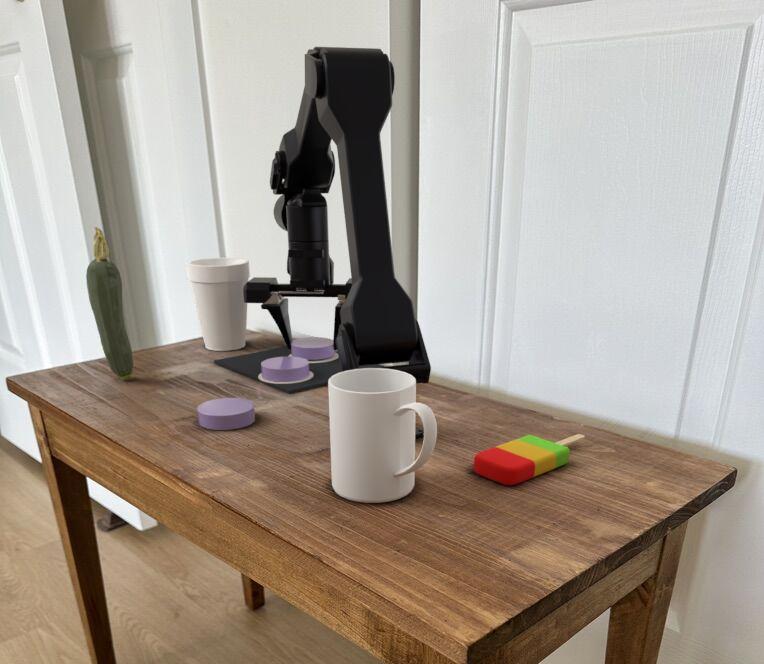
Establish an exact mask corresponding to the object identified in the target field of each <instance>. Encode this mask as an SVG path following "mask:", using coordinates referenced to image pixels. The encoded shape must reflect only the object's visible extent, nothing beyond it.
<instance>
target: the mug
mask: <svg viewBox="0 0 764 664" xmlns="http://www.w3.org/2000/svg"><path fill="white" fill-rule="evenodd" d="M327 386H328V413H329V414H328V416H329V441H330V443H329V444H330V467H331V468H330V469H331V472H330V473H331V487H332V488H333V490H334V492H335V494H337V495H338V496H340V497H341V498H344V499H345V500H349V501H353V502H357V503H365V504H380V503H387V502H392V501H397V500H399V499H401V498H404V497H406V496H408V495H409V494H410V493H412V491H413V489H414V488H415V477H416V476H415V475H416V473H415V472H416V471H418V470H419V469H421V468H422V467H423V466H424V465H426V464H427V462H428V461H429V459H430V458H431V457H432V455H433V453H434V450H435V447H436V442H437V437H438V425H437V419H436V416H435V413H434V412H433V410H432V409H431V407H429V406H428V405H427V404H425V403H422V402H417V383H416V379H415V378H414V377H413V376H412V375H410V374H408V373H406V372H402V371H398V370H393V369H383V368H363V369H354V370H348V371H344V372H340V373H337V374H335V375H333V376H332V377H331V378H330V379H329V381H328V384H327ZM416 413H417V414H418V416H419V417H420V420H421V421H422V422H421V423H422V426H423V430H424V436H423V442H422V447H421V449H420V453H419V455H418V457H417V458H416V438H415V427H416V417H417V415H416Z"/></svg>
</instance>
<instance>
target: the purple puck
mask: <svg viewBox="0 0 764 664" xmlns="http://www.w3.org/2000/svg"><path fill="white" fill-rule="evenodd" d="M335 351H336V350H334V343H333V339H332V338H328V337H319V336H310V337H301V338H297V339H294V340H292V342H291V355H292V356H293V357H300V358H304V359H307V360H319V359H326V358H330V357H332V356H334V355H335Z"/></svg>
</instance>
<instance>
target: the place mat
mask: <svg viewBox="0 0 764 664" xmlns="http://www.w3.org/2000/svg"><path fill="white" fill-rule="evenodd" d="M275 357H293V356H292V355H291V350H289V349H288V347H287V345H286V346H280V347H275V348H271V349H265V350H261V351H255V352H251V353H250V352H249V353H245V354H240V355H235V356H230V357H224V358H220V359H215V360H213V363H214V364H216V365H218V366H221V367H223V368H226V369H227V370H230V371H233V372H235V373H238V374H240V375H242V376H245V377H247V378H250V379H252V380H255V381H257V382H259V383H261V384H265V385H267V386H270V387H272V388H275V389H277V390H280V391H281V392H285V393H287V394H294V393H298V392H301V391H306V390H310V389H315V388H319V387H323V386H328V381H329V379H330V378H331V377H332V376H333V375H335V374H337V373H340V372H341V367H340V362H339V357H338V351H337V350H335V355H334V356H332V357H330V358H326V359H319V360H308V361H309V371H310V375H309V377H307V378H305V379H303V380H299V381H293V382H273V381H268V380H265V379H263V378H262V373H261V362H263V361H264V360H267V359H270V358H275ZM375 367H386V366H385V365H382V364H378V365H368V366H359V369H363V368H375Z"/></svg>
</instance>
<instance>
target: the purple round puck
mask: <svg viewBox="0 0 764 664" xmlns="http://www.w3.org/2000/svg"><path fill="white" fill-rule="evenodd" d="M261 373H262V378H263V379H265V380H268V381H273V382H293V381H299V380H303V379H305V378H307V377H309V375H310V371H309V361H308V360H307V359H304V358H300V357H275V358H270V359H267V360H264V361H263V362H261Z"/></svg>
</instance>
